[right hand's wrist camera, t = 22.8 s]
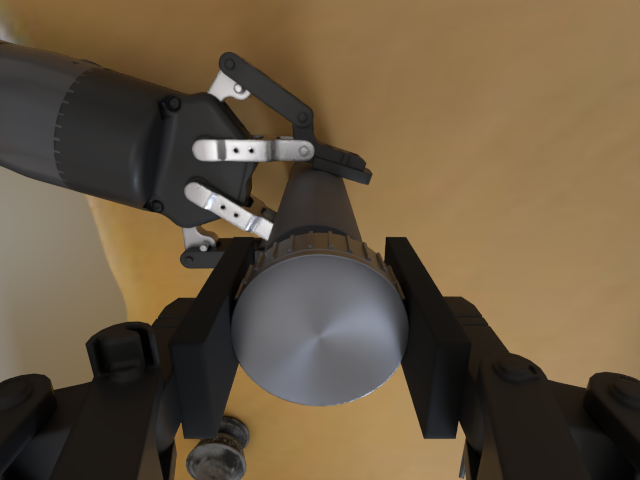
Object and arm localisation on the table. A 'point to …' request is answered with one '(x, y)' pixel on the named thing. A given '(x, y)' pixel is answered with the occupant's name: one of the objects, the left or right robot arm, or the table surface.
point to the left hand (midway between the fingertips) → (355, 210)
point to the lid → (319, 320)
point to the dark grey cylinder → (313, 206)
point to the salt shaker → (220, 453)
